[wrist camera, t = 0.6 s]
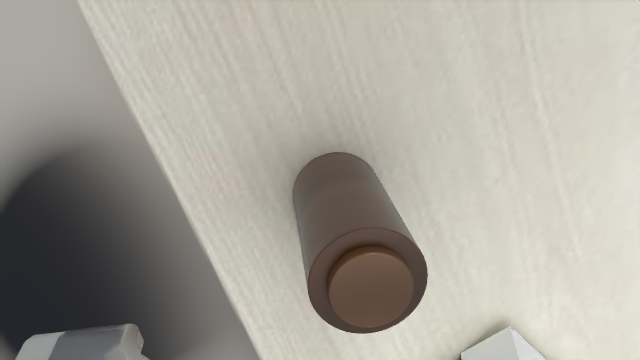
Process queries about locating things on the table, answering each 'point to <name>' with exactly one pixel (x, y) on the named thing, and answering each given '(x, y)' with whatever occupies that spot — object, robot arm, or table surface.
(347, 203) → the brown lidded canister
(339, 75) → the table surface
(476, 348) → the bracket
